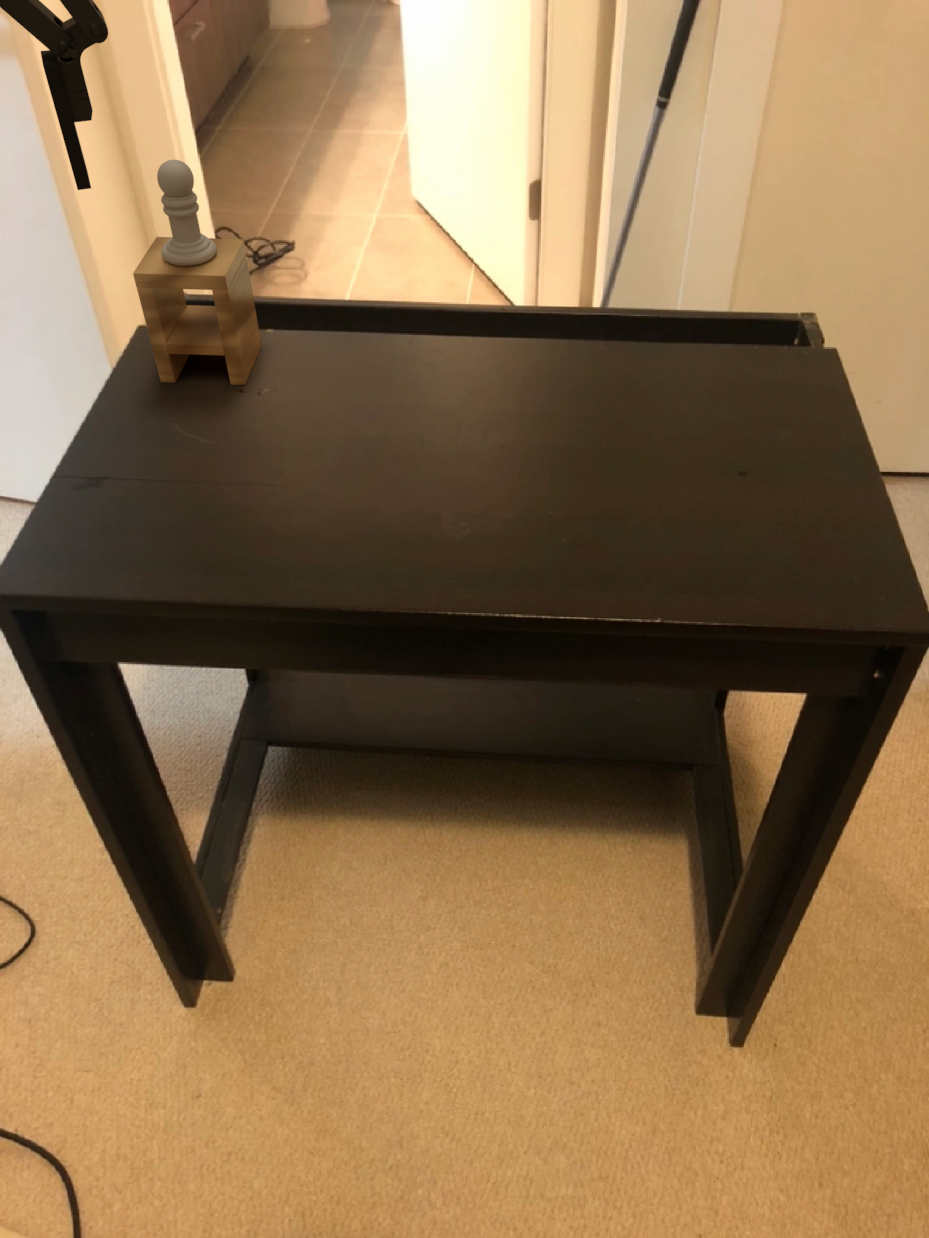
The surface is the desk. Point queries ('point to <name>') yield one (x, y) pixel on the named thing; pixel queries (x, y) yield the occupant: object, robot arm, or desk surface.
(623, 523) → the desk surface
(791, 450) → the desk surface
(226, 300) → the shelf
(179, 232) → the chess piece
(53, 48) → the robot arm
